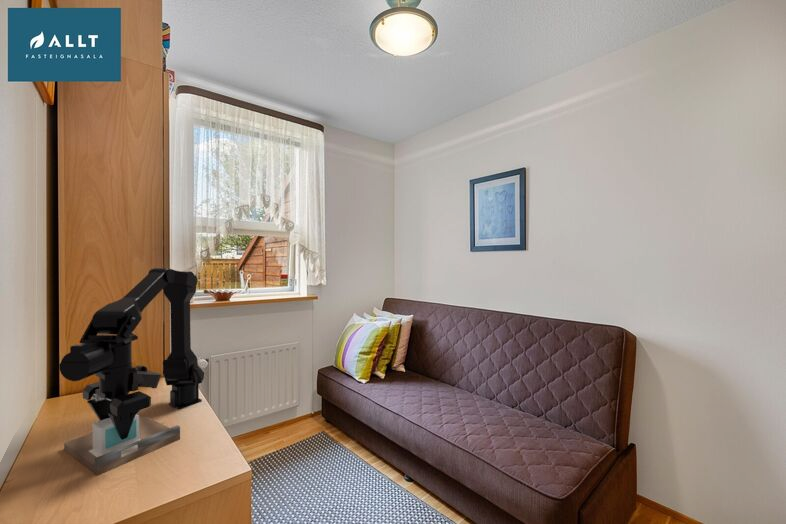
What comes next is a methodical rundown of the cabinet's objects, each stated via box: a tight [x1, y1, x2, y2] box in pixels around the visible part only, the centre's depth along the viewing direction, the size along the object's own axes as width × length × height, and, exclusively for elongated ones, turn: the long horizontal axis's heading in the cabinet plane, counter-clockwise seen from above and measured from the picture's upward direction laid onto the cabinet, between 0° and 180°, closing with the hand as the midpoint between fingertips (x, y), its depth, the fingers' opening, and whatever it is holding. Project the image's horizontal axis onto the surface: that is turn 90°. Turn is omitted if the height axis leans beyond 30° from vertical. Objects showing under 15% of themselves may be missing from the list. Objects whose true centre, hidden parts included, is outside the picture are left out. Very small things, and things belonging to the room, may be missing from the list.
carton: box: [91, 413, 140, 456], centre depth 77 cm, size 5×7×6 cm
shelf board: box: [63, 414, 181, 476], centre depth 81 cm, size 16×18×3 cm
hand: (116, 434), depth 77 cm, fingers open, 7 cm apart
